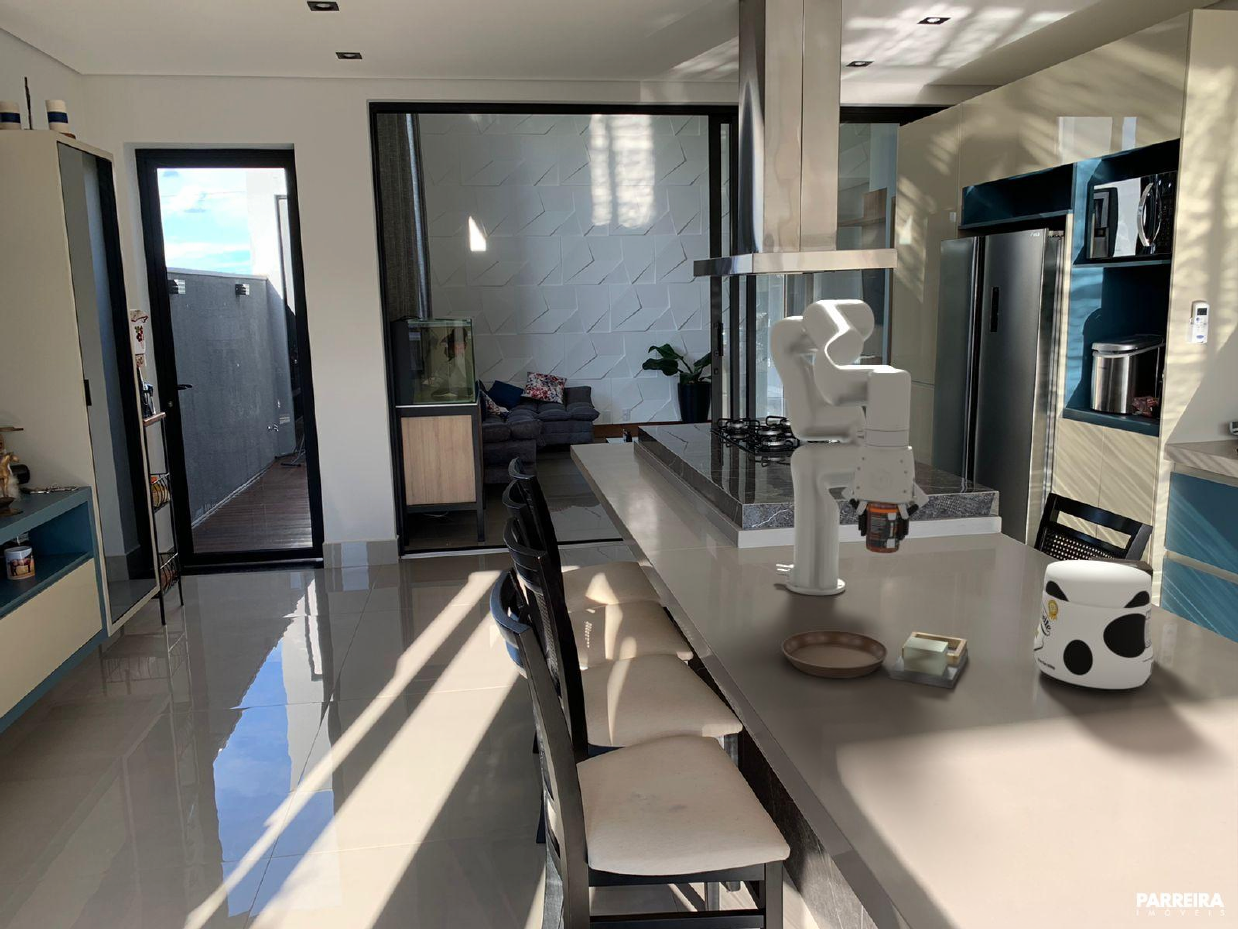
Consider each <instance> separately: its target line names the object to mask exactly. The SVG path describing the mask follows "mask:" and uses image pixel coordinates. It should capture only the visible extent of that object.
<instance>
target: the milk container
mask: <svg viewBox="0 0 1238 929" xmlns="http://www.w3.org/2000/svg"><path fill="white" fill-rule="evenodd" d="M1152 599H1153V581H1152V582H1151V576H1150V575H1149V574H1147V573H1146V572H1144V571H1142V570H1139V569H1136V568H1133V567H1130V566H1125V565H1121V564H1116V563H1109V562H1102V561H1090V559H1089V560H1087V559H1086V560H1085V559H1077V560H1076V559H1075V560H1074V559H1069V560H1060V561H1054V562H1051V563H1049V564H1048V565H1047V567H1046V570H1045V573H1044V579H1043V590H1042V609H1041V610H1042V611H1041V618H1040V621H1039V624H1038V627H1037V630H1036V633H1035V635H1034V641H1033V655H1034V660H1035V661H1034V662H1035V663H1036V666H1037V668H1038V669H1039V671H1041V672H1042V674H1044V675H1045V676H1046V677H1048V678H1050V679H1052V680H1054V681H1055V682H1057V683H1060V684H1064V685H1065V686H1069V687H1072V688H1075V689H1082V690H1085V691H1091V692H1100V693H1101V692H1102V693H1120V692H1121V693H1124V692H1128V691H1132V690H1133V691H1134V690H1137V689H1139V688H1141V687H1143V686H1144V685H1145V684H1147V682H1148V681H1149V680H1150V678H1151V676H1152V673H1153V668H1154V661H1155V653H1154V647H1153V643H1152V642H1153V641H1152V639H1151V634H1150V632H1151V630H1150V624H1151V617H1152V616H1151V615H1152V607H1153V604H1152Z"/></svg>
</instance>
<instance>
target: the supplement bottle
mask: <svg viewBox="0 0 1238 929" xmlns="http://www.w3.org/2000/svg"><path fill="white" fill-rule="evenodd" d="M900 517H901V513H900V510H899V508H898V505H897V504H888V503H877V502H868V505H867V524H866V536H865V548H866V550H868V551H870V552H873V553H879V554H893V553H896V552H898V551H899V550H900V546H901V545H900V542H901V541H900V540H898V520H899V518H900Z"/></svg>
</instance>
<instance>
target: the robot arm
mask: <svg viewBox="0 0 1238 929" xmlns="http://www.w3.org/2000/svg"><path fill="white" fill-rule="evenodd" d="M874 327H875V316H874V313H873V310H872V308H871V307H870V305H868V303H866V302H864V301H863V300H859V299H836V300H835V299H824V300H819V301H815V302H813V303H810V304H809V305H808V306H807V307H806V308H805V309H804V310H803V312H802V314H801V315H794V316H789V317H784V318H781V319H778V320H777V321H775V323H773V325H772V326H771V329H770V332H769V351H770V355H771V360H772V362H773V365H774V367H775V369H776V372H777V374H778V376H779V377H780V380H781V383H782V385H783V391H784V396H785V397H784V398H785V403H786V409H787V414H788V420H789V421H788V422H789V424H790V429H791V432H792V434H793V436H794V437H795V438H796V439H798V440H799V441H800V440H801V441H806V442H807V441H811V442H812V441H813V442H815V441H817V443H808V444H804V445H801V446H799V447H797V448H796V449H795V450H794V451H793V452H792V455H791V456H790V472H791V477H792V478H791V479H792V485H793V486H792V487H793V497H794V498H793V499H794V512H793V514H794V515H793V516H794V520H793V521H794V523H793V524H794V526H793V527H794V528H793V564H790V565H786V564H781V563H779V564H778V563H777V564H775V569H774V570H775V573H777V576H787V578H788V579H786V581H785V587H786V588H787V589H788V590H789V591H792V592H794V593H798V594H801V595H807V596H808V595H809V596H831V595H836V594H840V593H842V592H844V591H845V590H846V583H845V582H844V581H843V580H842V579H840V578H839V555H840V550H839V548H840V546H839V545H840V514H841V513H840V507H839V504H838V503H837V500H835V498H834V497H833V496H832V494H831V493H830V491H829V490H830V489H835V488H844V489H843V490H842V491H841V495H842V497H843V498H844V499H845V500H846V501H847V502H849V505H850V506H852V508H853V510H855V512H856V514H857V515H858V524H857V529H858V531H860V537H866V524H867V505H868V502H877V503H888V504H897V505H898V508H899V510H900V513H901V517H900V518H899V520H898V540H900V542H901V541H903V540H904V539H905V538H906V537H907V536H908V535H909V529H910V517H911V516H912V515H914V514H915V513H916V512H918V510H920V509H921V508H922V507H923V506H925V505H926V504H927V503H928V502H929V501H930V498H929V497H928V495H927V494H926V493H925V492H924V490H922V488H921V487H920V486H919V485H918V484H917V483H916V473H915V472H916V471H915V460H914V459H915V458H914V452H913V447H912V446H909V443H910V442H909V440H910V438H909V436H910V417H911V412H910V411H911V392H912V391H911V389H912V377H911V374H910V372H908V371H907V370H905V369H898V368H895V367H893V366H891V365H886V364H884V365H883V364H879V365H877V364H876V365H875V364H874V365H872V364H871V365H867V364H865V365H863V364H862V365H859V364H858V365H852V364H853V363H854V362H856V361H857V360H858V359H859V358H860V356H861V355H862V352H863V350H864V344H865V343H864V342H866V340H868V339H869V338H870V336H872V333H873V331H874V329H875V328H874ZM804 356H815V357H814V360H813V364H812V363H811V362H809V361H808V359H806V358H805V357H804ZM863 407H865V412H864V409H863ZM820 441H839V442H820ZM914 497H916V498H917V500H916V502H914V503H913V504H912V505H911V506H910V504H909V503H910V501H911V500H912V499H913V498H914Z"/></svg>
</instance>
